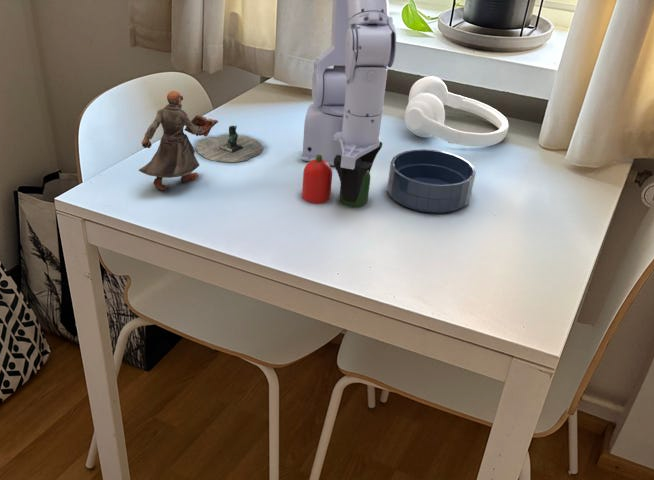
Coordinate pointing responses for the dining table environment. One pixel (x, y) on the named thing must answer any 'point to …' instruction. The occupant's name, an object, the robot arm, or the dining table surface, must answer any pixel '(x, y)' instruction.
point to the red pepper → (317, 181)
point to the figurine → (174, 142)
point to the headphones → (430, 115)
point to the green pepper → (362, 196)
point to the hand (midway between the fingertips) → (354, 193)
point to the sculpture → (229, 147)
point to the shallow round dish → (430, 180)
